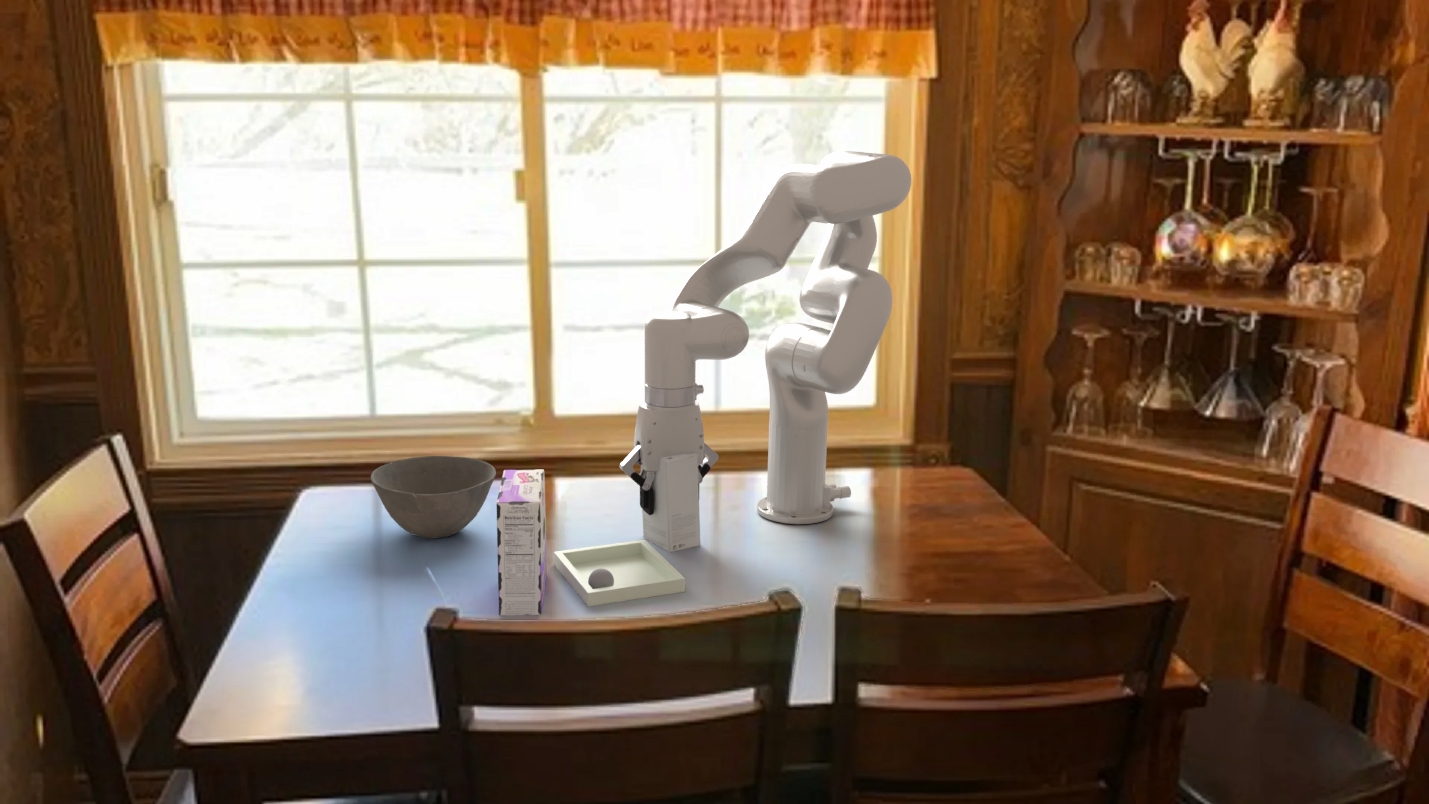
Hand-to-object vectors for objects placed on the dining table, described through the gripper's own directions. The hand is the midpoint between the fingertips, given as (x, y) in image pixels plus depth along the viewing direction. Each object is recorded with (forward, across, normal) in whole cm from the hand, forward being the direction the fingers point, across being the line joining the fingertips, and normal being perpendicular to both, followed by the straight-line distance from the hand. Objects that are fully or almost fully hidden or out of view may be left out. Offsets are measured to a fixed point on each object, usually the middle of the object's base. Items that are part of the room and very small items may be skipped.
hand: (669, 508), depth 187 cm
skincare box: (+6, 0, 0) cm, 6 cm away
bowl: (+6, +32, -17) cm, 37 cm away
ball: (+5, +16, +16) cm, 23 cm away
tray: (+6, +12, +11) cm, 18 cm away
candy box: (+6, +26, +12) cm, 29 cm away
